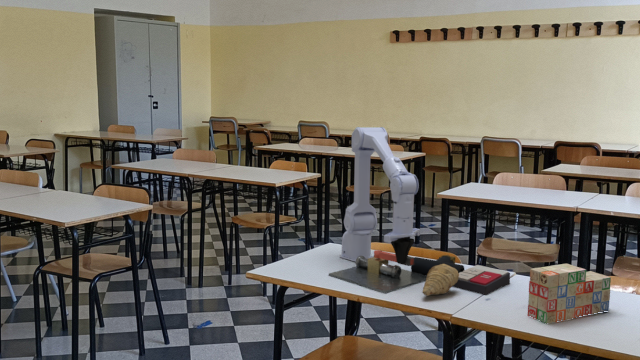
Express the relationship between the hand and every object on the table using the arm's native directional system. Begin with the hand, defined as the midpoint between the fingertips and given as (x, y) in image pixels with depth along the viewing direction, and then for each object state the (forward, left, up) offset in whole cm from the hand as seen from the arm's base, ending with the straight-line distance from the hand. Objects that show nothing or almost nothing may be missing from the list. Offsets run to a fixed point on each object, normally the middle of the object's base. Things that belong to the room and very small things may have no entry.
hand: (401, 263), depth 173 cm
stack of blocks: (+44, +12, -6) cm, 46 cm away
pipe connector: (+3, +16, -6) cm, 18 cm away
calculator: (+16, +16, -6) cm, 24 cm away
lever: (-5, +2, -1) cm, 5 cm away
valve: (-7, -1, -6) cm, 9 cm away
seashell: (+14, -1, -6) cm, 15 cm away
